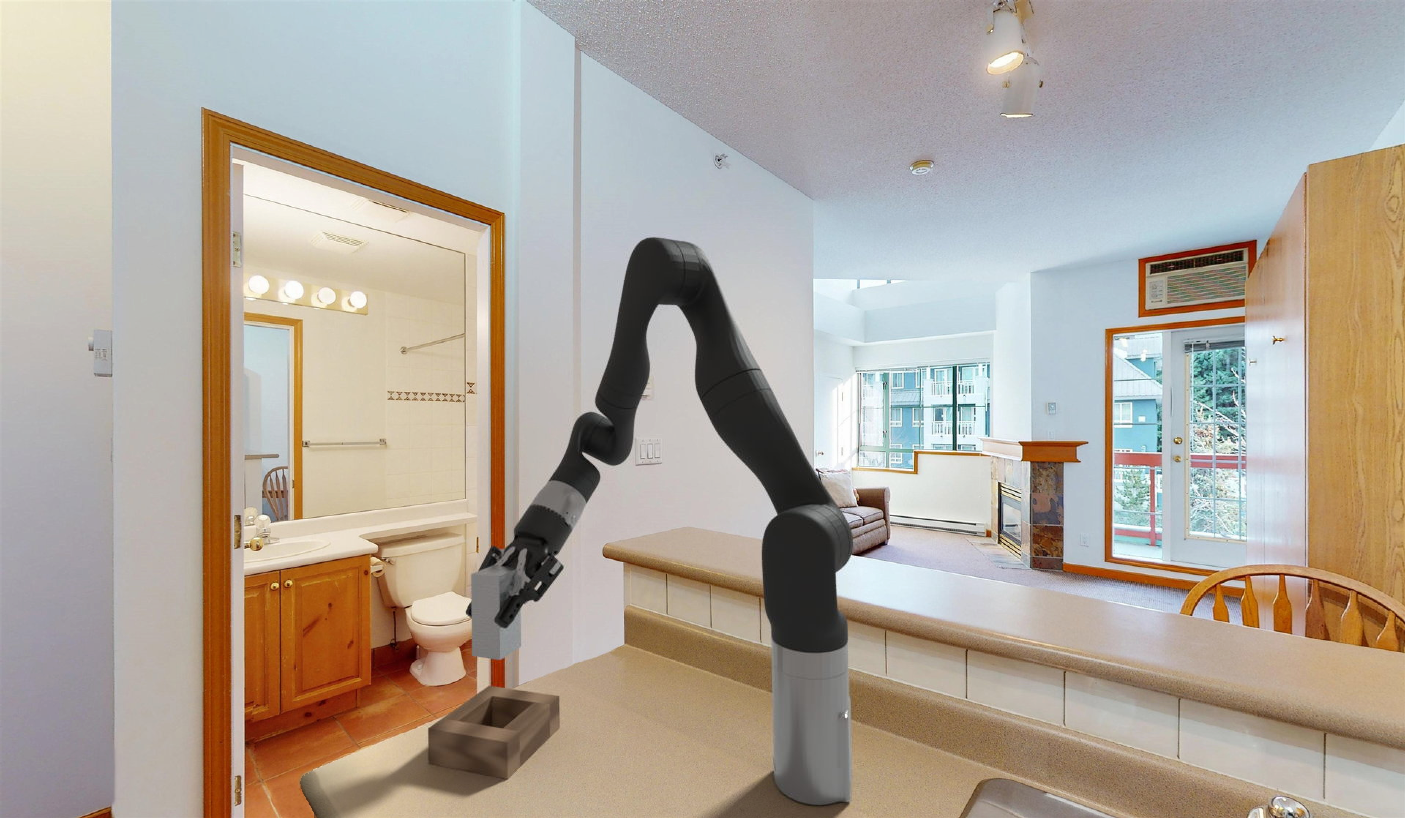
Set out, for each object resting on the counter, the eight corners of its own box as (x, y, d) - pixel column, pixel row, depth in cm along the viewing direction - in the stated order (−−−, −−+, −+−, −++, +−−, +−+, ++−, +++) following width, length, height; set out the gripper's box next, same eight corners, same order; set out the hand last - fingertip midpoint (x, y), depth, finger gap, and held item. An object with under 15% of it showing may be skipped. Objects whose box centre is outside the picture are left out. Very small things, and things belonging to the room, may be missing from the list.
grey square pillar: (521, 646, 78) (520, 567, 78) (500, 659, 74) (499, 576, 74) (494, 642, 80) (493, 565, 80) (472, 655, 75) (471, 574, 76)
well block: (559, 727, 80) (559, 695, 81) (507, 779, 69) (507, 742, 69) (489, 715, 84) (488, 685, 84) (428, 763, 72) (428, 728, 73)
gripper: (505, 499, 87) (434, 598, 77) (572, 506, 80) (503, 616, 69) (532, 527, 92) (469, 625, 81) (598, 536, 84) (537, 644, 74)
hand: (485, 620), depth 75 cm, fingers closed on grey square pillar, 5 cm apart
